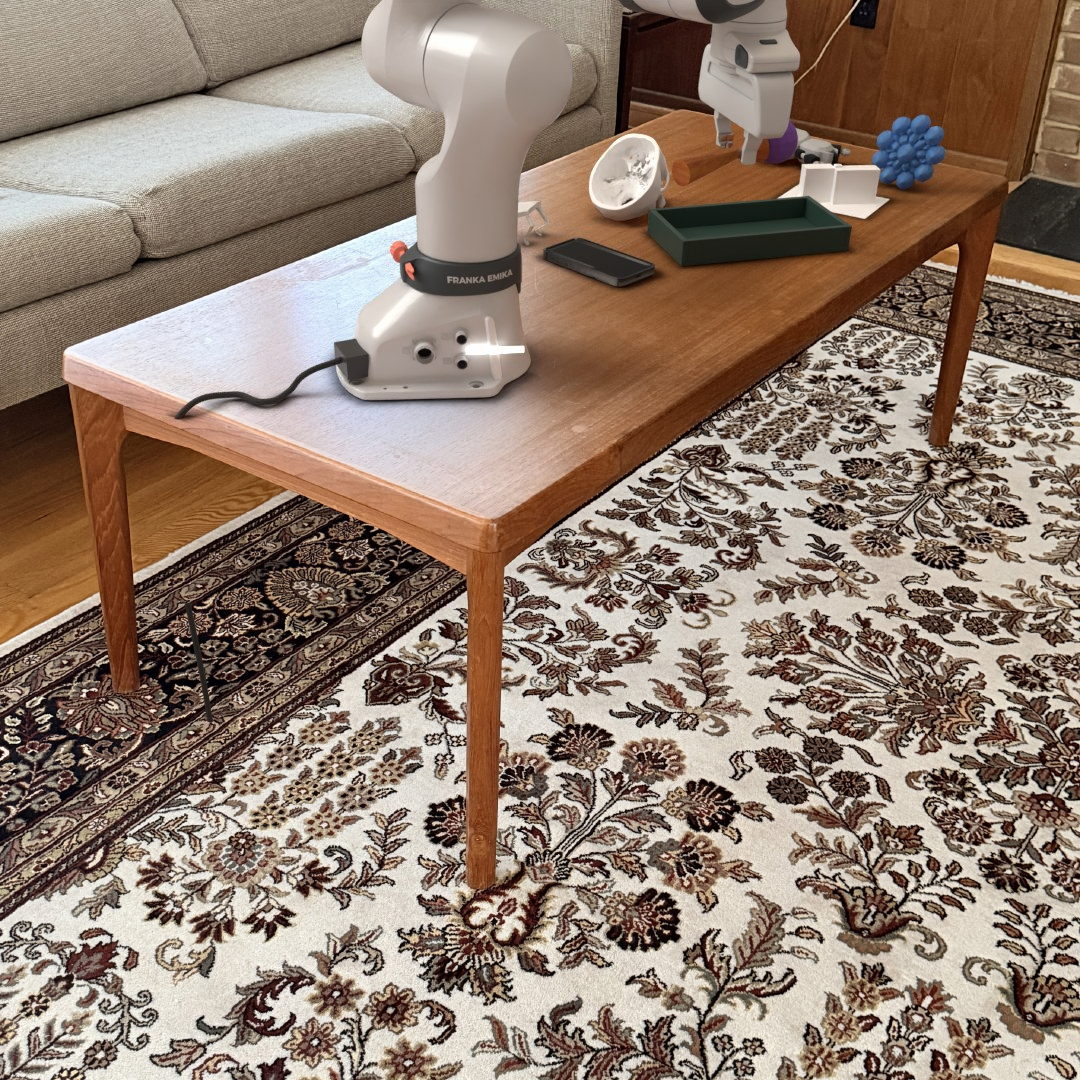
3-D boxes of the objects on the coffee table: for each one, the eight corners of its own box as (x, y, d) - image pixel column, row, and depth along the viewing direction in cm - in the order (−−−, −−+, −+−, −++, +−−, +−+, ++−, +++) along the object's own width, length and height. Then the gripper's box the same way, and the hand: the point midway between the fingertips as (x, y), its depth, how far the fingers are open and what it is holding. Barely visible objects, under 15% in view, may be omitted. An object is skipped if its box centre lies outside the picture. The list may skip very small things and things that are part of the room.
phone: (578, 236, 175) (658, 265, 166) (577, 244, 175) (658, 272, 166) (539, 249, 170) (619, 280, 161) (538, 257, 170) (619, 288, 162)
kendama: (661, 147, 153) (771, 110, 163) (667, 195, 156) (775, 156, 166) (695, 149, 149) (806, 111, 159) (700, 198, 152) (808, 158, 161)
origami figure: (504, 224, 182) (504, 191, 179) (552, 235, 178) (553, 202, 175) (457, 248, 173) (456, 214, 171) (507, 261, 170) (507, 226, 167)
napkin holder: (890, 198, 194) (896, 162, 191) (865, 219, 186) (872, 181, 183) (801, 181, 201) (806, 146, 198) (774, 200, 193) (778, 164, 190)
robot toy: (851, 168, 210) (776, 144, 217) (857, 142, 207) (781, 118, 214) (816, 185, 202) (739, 159, 209) (822, 158, 199) (744, 133, 206)
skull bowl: (692, 192, 191) (677, 134, 180) (650, 261, 187) (632, 206, 176) (634, 178, 195) (616, 122, 185) (592, 245, 192) (571, 191, 181)
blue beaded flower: (946, 189, 199) (962, 114, 192) (930, 200, 194) (946, 123, 187) (878, 175, 204) (891, 101, 198) (862, 185, 200) (874, 110, 193)
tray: (681, 266, 169) (683, 241, 167) (647, 232, 180) (648, 208, 178) (848, 250, 175) (852, 226, 173) (805, 219, 186) (809, 195, 184)
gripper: (691, 25, 157) (682, 134, 165) (757, 61, 141) (744, 180, 149) (737, 23, 159) (726, 131, 167) (807, 59, 143) (791, 177, 150)
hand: (735, 155), depth 158 cm, fingers closed on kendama, 6 cm apart
